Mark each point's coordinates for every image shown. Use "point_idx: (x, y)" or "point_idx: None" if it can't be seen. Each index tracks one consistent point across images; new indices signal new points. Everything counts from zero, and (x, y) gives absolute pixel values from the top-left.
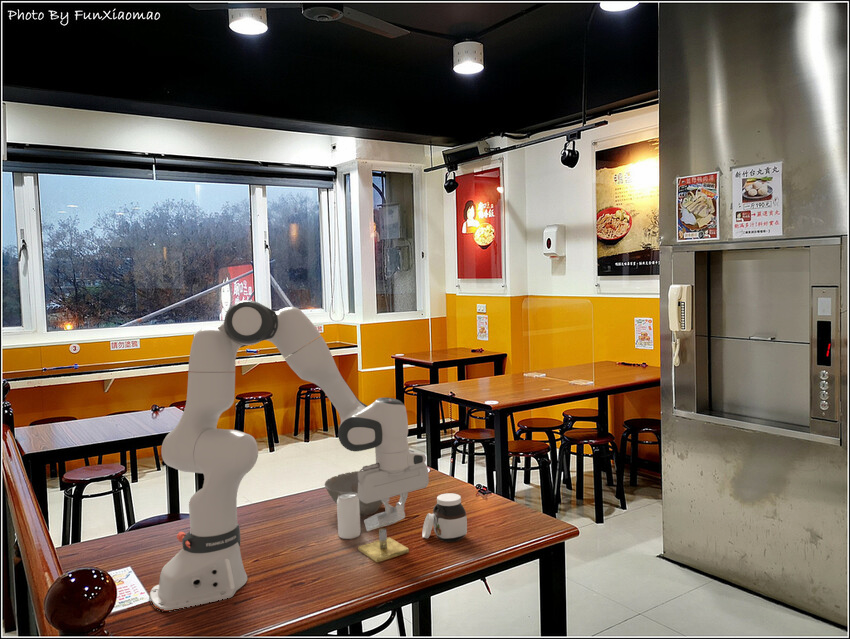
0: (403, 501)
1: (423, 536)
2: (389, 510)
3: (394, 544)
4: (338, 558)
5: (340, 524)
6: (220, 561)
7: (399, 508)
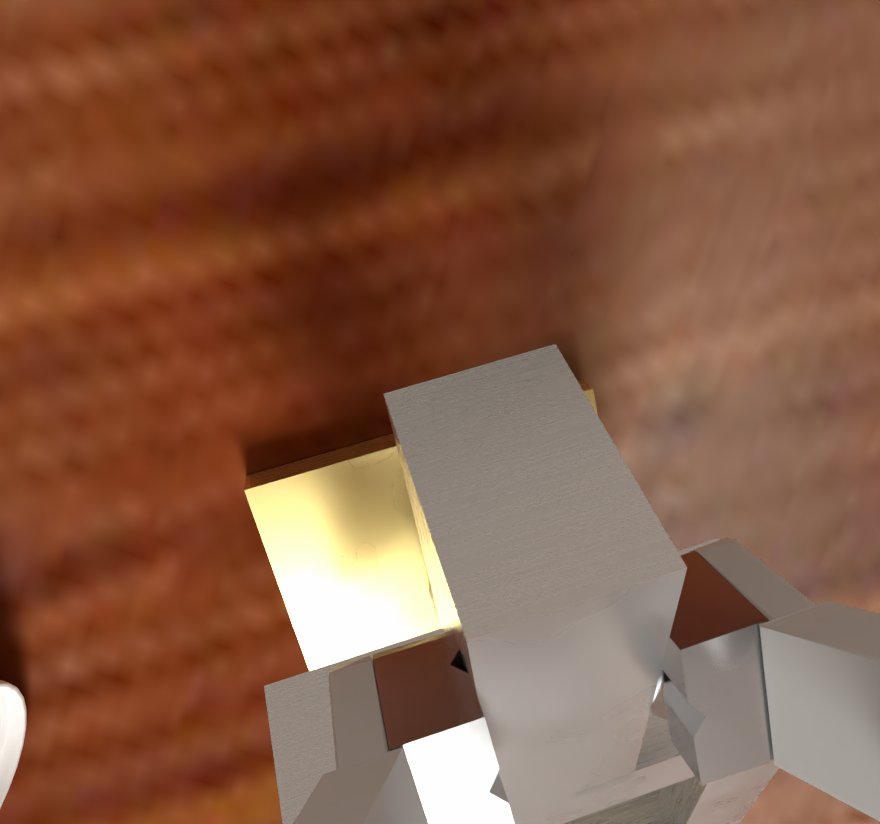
0: (368, 805)
1: (14, 731)
2: (752, 570)
3: (348, 618)
4: (804, 566)
5: None
6: None
7: (553, 522)
